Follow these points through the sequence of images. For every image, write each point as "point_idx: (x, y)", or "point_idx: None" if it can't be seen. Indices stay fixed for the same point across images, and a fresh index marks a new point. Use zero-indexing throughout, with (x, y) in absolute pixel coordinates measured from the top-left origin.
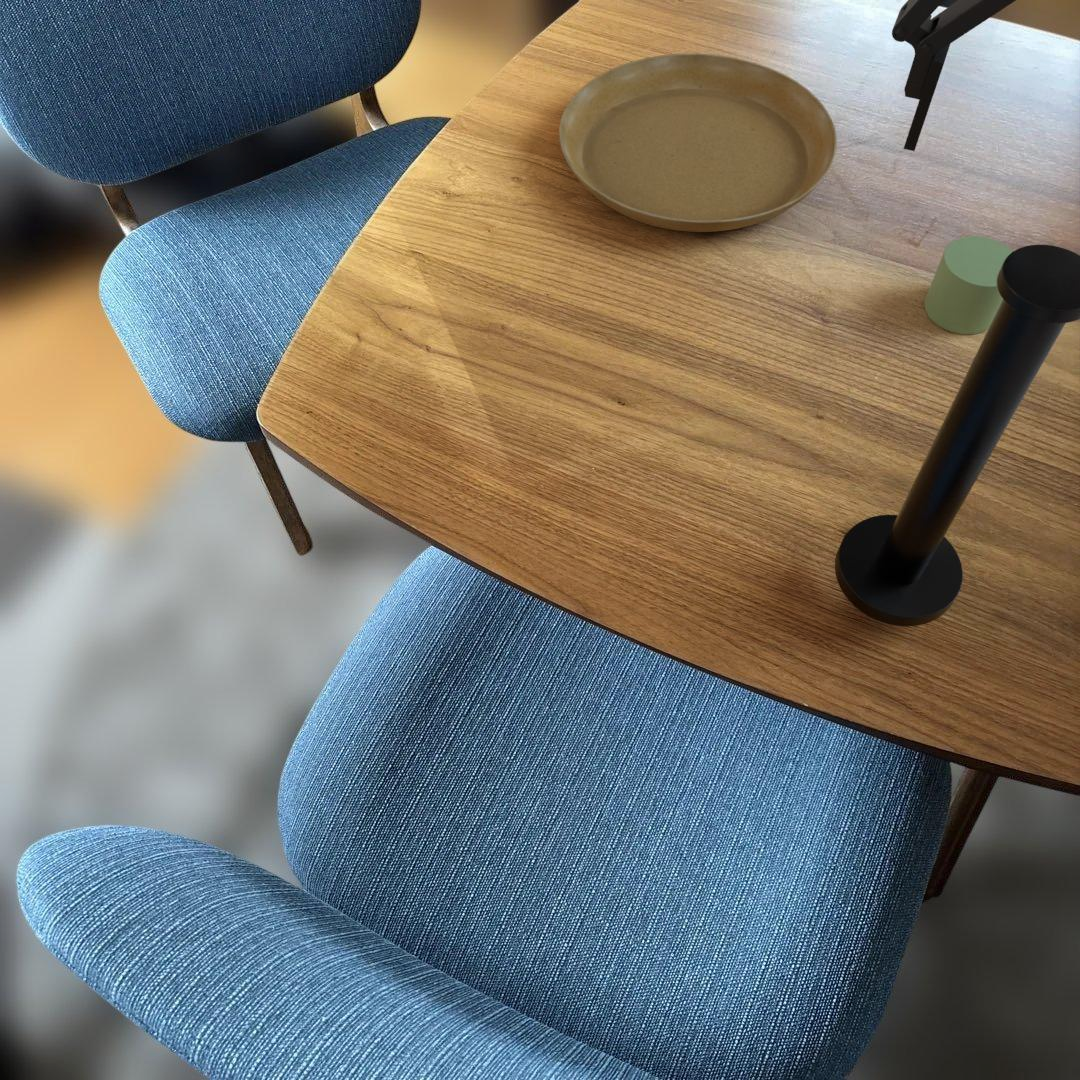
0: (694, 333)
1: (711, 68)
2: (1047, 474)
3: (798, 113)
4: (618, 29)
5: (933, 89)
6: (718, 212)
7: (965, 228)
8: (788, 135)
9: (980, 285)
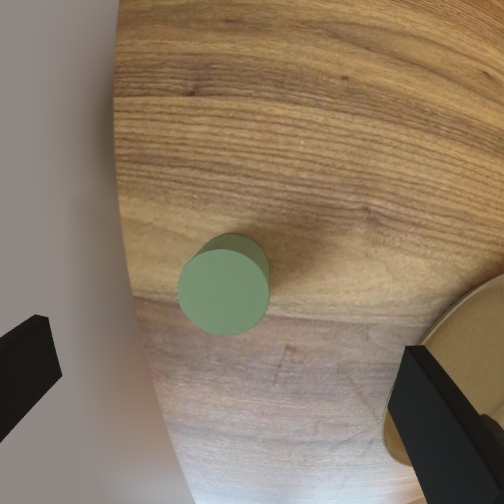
0: (467, 160)
1: None
2: (131, 86)
3: (401, 445)
4: None
5: (471, 437)
6: (469, 317)
7: (244, 379)
8: None
9: (217, 249)
